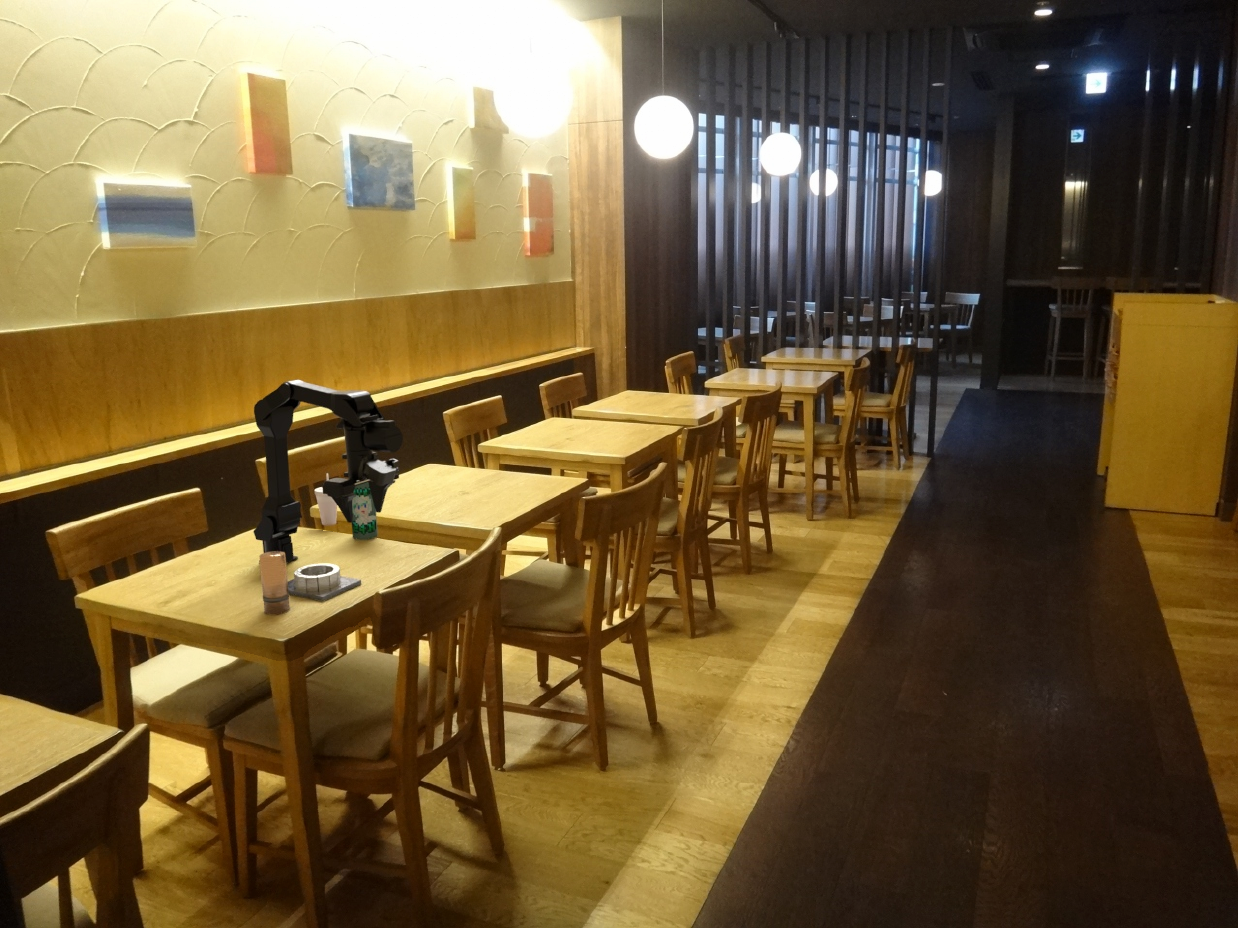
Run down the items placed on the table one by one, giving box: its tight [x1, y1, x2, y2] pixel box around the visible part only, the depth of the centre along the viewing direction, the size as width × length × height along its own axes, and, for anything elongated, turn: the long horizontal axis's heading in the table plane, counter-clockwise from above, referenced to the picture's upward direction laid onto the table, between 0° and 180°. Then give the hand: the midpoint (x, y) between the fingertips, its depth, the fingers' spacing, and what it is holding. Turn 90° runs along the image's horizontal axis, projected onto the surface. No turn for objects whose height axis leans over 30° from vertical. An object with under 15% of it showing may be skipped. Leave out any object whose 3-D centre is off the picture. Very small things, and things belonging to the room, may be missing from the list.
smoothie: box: [314, 472, 338, 526], centre depth 264 cm, size 6×6×14 cm
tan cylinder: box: [259, 551, 291, 616], centre depth 202 cm, size 5×5×12 cm
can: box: [351, 480, 378, 541], centre depth 252 cm, size 6×6×15 cm
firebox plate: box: [287, 563, 362, 602], centre depth 216 cm, size 14×12×4 cm
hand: (364, 517), depth 218 cm, fingers open, 9 cm apart
